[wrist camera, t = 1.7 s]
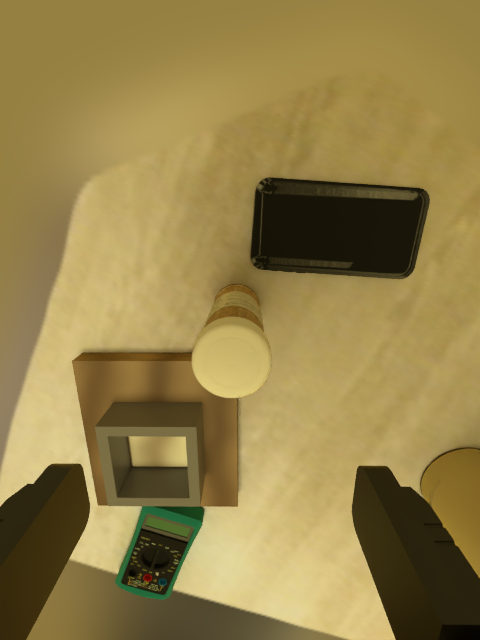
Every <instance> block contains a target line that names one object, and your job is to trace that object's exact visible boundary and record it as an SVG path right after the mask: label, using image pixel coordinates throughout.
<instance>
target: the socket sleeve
mask: <svg viewBox="0 0 480 640" xmlns="http://www.w3.org/2000/svg"><path fill="white" fill-rule="evenodd" d="M95 431H96V437H97V443H98V449H99V455H100V461H101V466H102V472H103V478H104V484H105V490H106V496H107V502H108V506H187V507H201V500H202V494H203V487H204V481H205V475H206V473H205V451H204V429H203V407H202V402H113V403H112V405H111V406H110V407H109V409H108V410H107V411H106V413H105V414H104V415H103V417H102V418H101V419H100V421H99V422H98V423H97V424H96V426H95ZM128 436H145V437H186V451H187V466H188V467H147V466H132V463H131V455H130V448H129V440H128Z"/></svg>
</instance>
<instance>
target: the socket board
mask: <svg viewBox="0 0 480 640" xmlns="http://www.w3.org/2000/svg"><path fill="white" fill-rule="evenodd" d="M72 364H73V369H74V375H75V380H76V386H77V392H78V397H79V403H80V408H81V414H82V419H83V425H84V430H85V436H86V442H87V447H88V453H89V458H90V464H91V469H92V475H93V480H94V486H95V492H96V497H97V503H98V505H108V502H107V496H106V490H105V484H104V478H103V472H102V466H101V461H100V455H99V449H98V443H97V437H96V431H95V426H96V424H97V423H98V422H99V421H100V419H101V418H102V417H103V415H104V414H105V413H106V411H107V410H108V409H109V407H110V406H111V405H112V403H113V402H202V407H203V429H204V451H205V473H206V475H205V481H204V487H203V494H202V500H201V506H231V507H238V411H237V398H224V397H220V396H217V395H215V394H212V393H211V392H209V391H208V390H206V389H205V388H204V387H203V386H202V385H201V384H200V383H199V382H198V380H197V379H196V377H195V375H194V372H193V368H192V353H82V354H81V355H79V356H78V357H77V358H75V359H74V360H73V361H72ZM128 440H129V448H130V455H131V463H132V466H147V467H188V466H187V451H186V437H145V436H128Z"/></svg>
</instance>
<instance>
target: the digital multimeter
mask: <svg viewBox="0 0 480 640" xmlns="http://www.w3.org/2000/svg"><path fill="white" fill-rule="evenodd" d="M203 516H204V510H203V509H202V508H200V507H187V506H143V507H142V510H141V513H140V516H139V520H138V523H137V526H136V530H135V533H134V536H133V539H132V541H131V544H130V546H129V549H128V551H127V554H126V556H125V558H124V560H123V563H122V565H121V567H120V570H119V572H118V575H117V578H116V581H115V583H116V584H117V585H118V586H119V587H120V588H122V589H124V590H126V591H128V592H131V593H134V594H136V595H140V596H144V597H148V598H155V599H165V598H168V597H170V595H171V592H172V589H173V586H174V584H175V581H176V579H177V576H178V574H179V571H180V569H181V566H182V564H183V562H184V560H185V558H186V555H187V553H188V551H189V549H190V547H191V545H192V543H193V541H194V539H195V538H196V536H197V534H198V532H199V530H200V528H201V526H202V522H203Z"/></svg>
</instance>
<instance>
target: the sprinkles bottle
mask: <svg viewBox="0 0 480 640" xmlns="http://www.w3.org/2000/svg"><path fill="white" fill-rule="evenodd" d="M271 364H272V358H271V351H270V346H269V342H268V339H267V337H266V335H265V334H264V330H263V321H262V316H261V312H260V305H259V301H258V298H257V296H256V294H255V293H254V292H253V291H252V290H251V289H250V288H248V287H246V286H243V285H239V284H238V285H230V286H227V287H225V288H224V289H222V290H221V291H220V292H219V293H218V295H217V296H216V298H215V301H214V304H213V306H212V309H211V311H210V314H209V316H208V319H207V321H206V323H205V326H204V329H203V330H202V331H201V333H200V334H199V336H198V338H197V340H196V343H195V346H194V349H193V353H192V368H193V372H194V375H195V377H196V379H197V380H198V382H199V383H200V384H201V385H202V386H203V387H204V388H205V389H206V390H208V391H209V392H211V393H212V394H215V395H217V396H220V397H224V398H240V397H244V396H247V395H249V394H252V393H253V392H255V391H256V390H258V389H259V388H260V387H261V386H262V385H263V384H264V382H265V381H266V379H267V378H268V376H269V373H270V370H271Z"/></svg>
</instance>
